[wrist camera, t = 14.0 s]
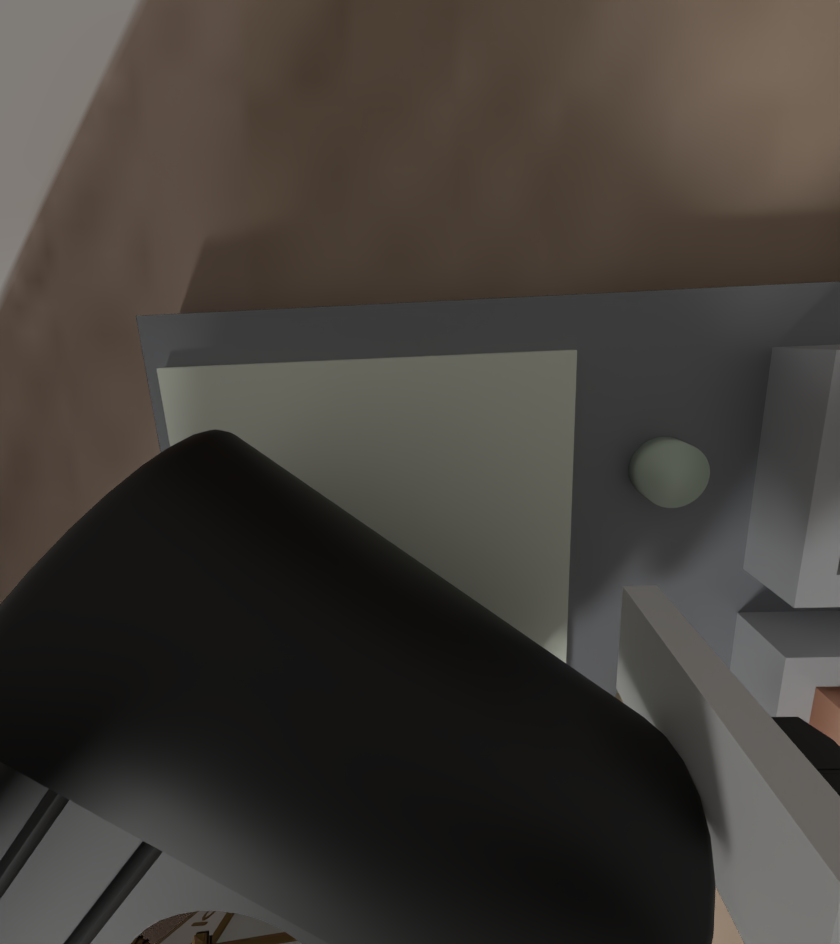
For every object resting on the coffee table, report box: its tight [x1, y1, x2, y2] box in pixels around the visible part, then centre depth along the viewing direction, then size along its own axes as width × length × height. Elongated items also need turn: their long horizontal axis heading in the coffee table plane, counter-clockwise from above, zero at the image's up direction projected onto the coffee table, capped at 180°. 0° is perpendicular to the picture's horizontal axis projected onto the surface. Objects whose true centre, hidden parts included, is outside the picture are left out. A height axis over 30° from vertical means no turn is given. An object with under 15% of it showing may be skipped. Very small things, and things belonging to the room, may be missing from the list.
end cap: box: [0, 429, 716, 944], centre depth 9 cm, size 10×7×7 cm
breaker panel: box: [136, 281, 840, 724], centre depth 14 cm, size 21×16×4 cm
